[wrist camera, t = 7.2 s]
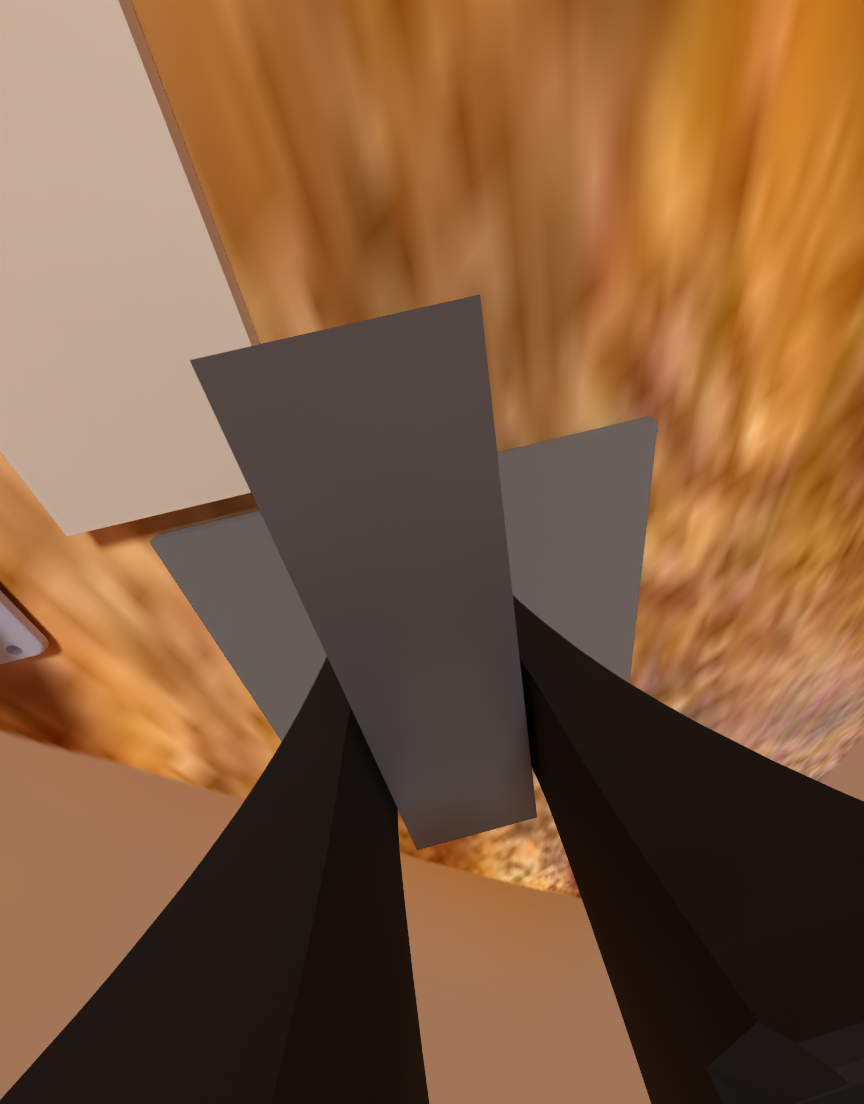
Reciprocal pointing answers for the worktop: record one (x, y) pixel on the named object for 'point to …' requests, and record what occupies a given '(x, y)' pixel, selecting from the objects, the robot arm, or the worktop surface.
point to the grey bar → (395, 545)
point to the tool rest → (105, 276)
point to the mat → (533, 548)
